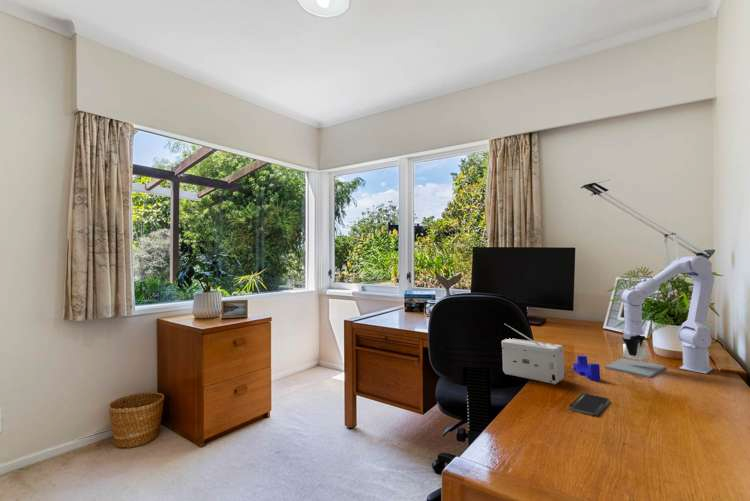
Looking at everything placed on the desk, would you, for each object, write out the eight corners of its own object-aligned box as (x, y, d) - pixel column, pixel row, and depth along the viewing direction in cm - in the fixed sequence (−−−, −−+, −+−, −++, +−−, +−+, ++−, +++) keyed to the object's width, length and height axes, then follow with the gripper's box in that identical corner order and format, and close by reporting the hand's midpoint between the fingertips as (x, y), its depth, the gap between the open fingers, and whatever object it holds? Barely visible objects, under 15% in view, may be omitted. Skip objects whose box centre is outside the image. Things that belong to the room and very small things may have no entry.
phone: (567, 407, 107) (582, 392, 118) (567, 410, 107) (583, 396, 117) (598, 414, 101) (610, 399, 112) (598, 418, 101) (611, 402, 112)
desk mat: (622, 360, 153) (622, 358, 153) (665, 368, 141) (665, 366, 141) (604, 368, 144) (604, 366, 144) (649, 377, 131) (649, 375, 131)
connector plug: (625, 355, 146) (624, 339, 147) (648, 359, 140) (647, 343, 140) (622, 356, 145) (621, 341, 145) (645, 361, 138) (645, 344, 138)
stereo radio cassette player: (565, 380, 131) (563, 325, 132) (558, 386, 125) (556, 329, 126) (509, 369, 146) (507, 320, 146) (500, 374, 140) (498, 323, 140)
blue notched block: (573, 370, 142) (573, 355, 142) (585, 370, 142) (585, 355, 142) (586, 381, 130) (586, 364, 131) (600, 381, 130) (599, 364, 130)
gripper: (628, 316, 150) (630, 349, 150) (614, 321, 142) (615, 355, 142) (649, 319, 144) (650, 352, 144) (634, 323, 136) (636, 359, 136)
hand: (634, 354), depth 143 cm, fingers closed on connector plug, 3 cm apart
